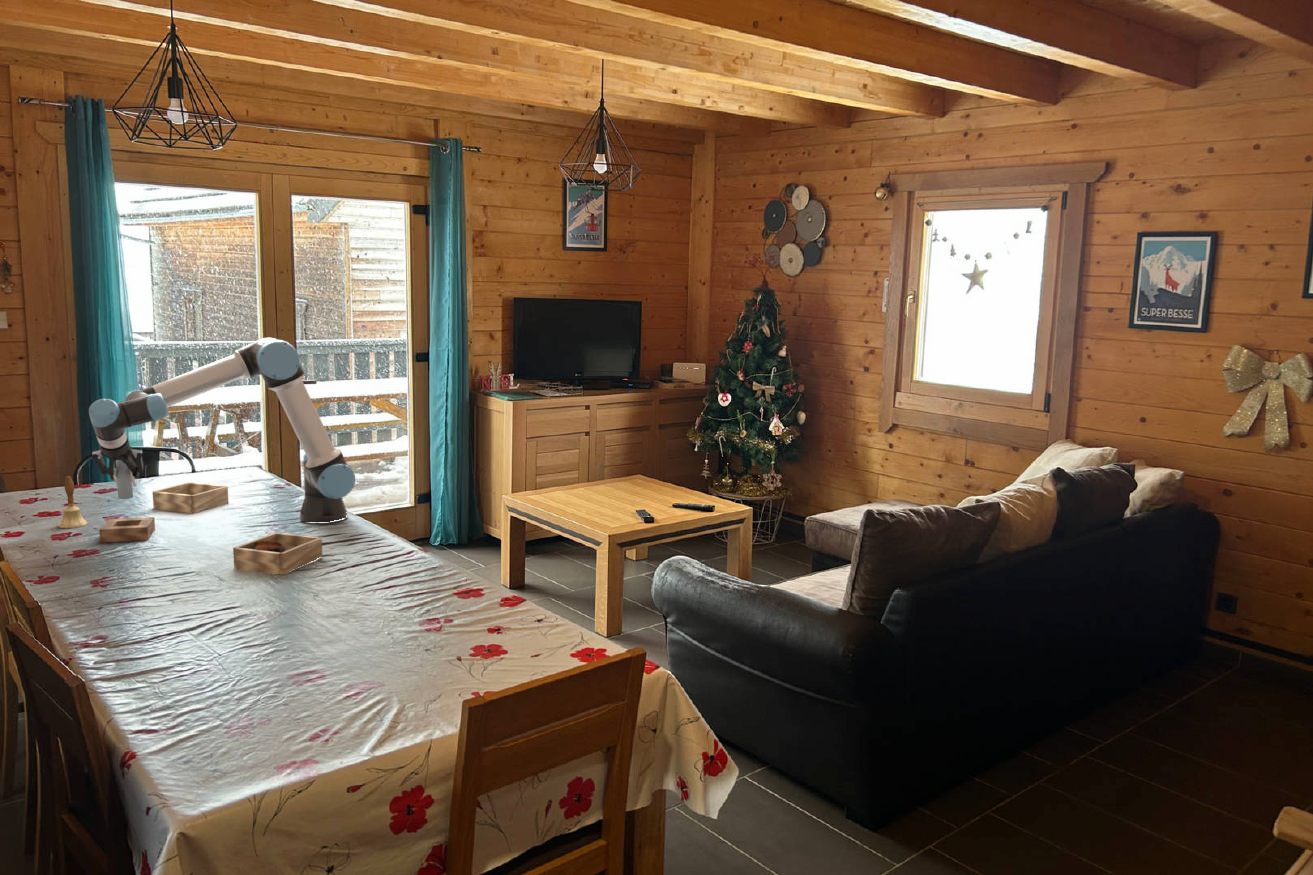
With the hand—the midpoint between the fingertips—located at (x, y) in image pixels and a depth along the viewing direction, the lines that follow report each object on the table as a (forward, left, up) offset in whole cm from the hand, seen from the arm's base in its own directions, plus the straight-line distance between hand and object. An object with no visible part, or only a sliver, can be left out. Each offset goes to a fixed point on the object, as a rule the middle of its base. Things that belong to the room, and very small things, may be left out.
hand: (127, 483), depth 300 cm
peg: (-2, +3, -4) cm, 5 cm away
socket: (-2, +3, -16) cm, 16 cm away
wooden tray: (+9, -36, -16) cm, 40 cm away
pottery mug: (-62, +14, -16) cm, 66 cm away
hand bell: (+24, -1, -16) cm, 29 cm away
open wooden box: (-63, +11, -16) cm, 66 cm away
